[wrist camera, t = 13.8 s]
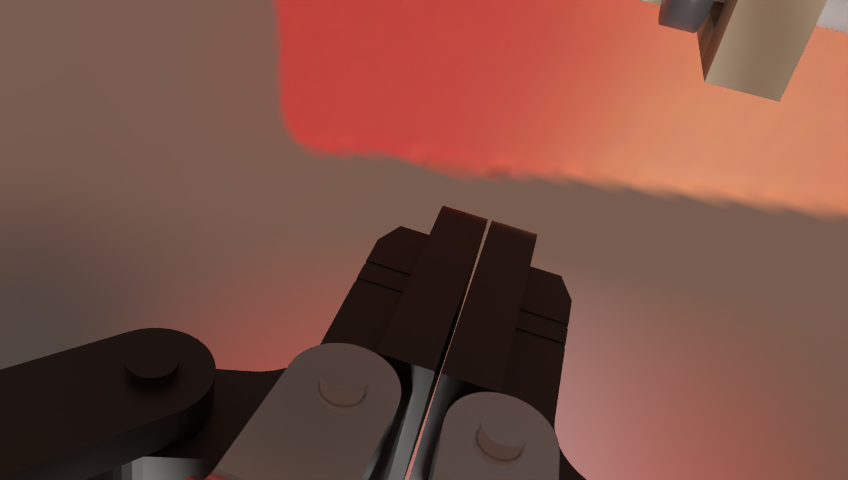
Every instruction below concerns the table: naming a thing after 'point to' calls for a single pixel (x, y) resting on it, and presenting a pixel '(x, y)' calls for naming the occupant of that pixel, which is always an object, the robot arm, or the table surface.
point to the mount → (755, 43)
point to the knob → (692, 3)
